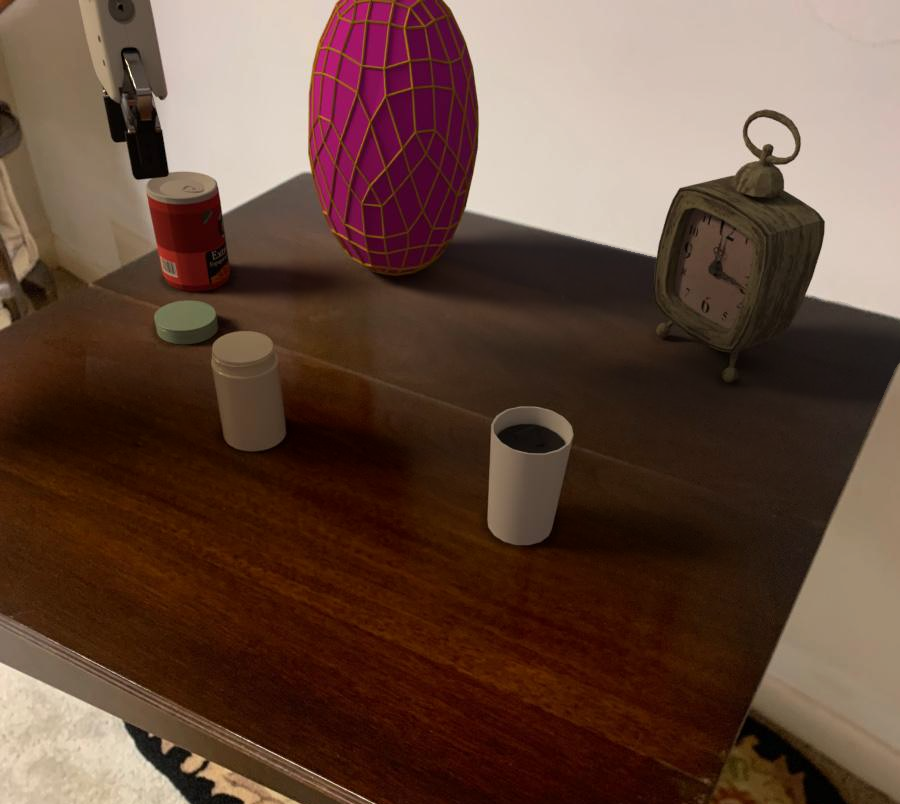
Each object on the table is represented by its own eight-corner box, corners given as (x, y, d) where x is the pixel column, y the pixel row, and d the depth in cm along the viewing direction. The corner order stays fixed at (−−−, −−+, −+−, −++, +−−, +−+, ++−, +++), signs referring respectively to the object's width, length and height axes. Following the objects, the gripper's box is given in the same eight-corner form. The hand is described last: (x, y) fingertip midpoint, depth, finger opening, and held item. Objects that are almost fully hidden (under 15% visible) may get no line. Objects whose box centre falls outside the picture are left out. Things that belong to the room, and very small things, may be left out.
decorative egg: (316, 233, 117) (297, -43, 95) (461, 232, 119) (476, -38, 97) (315, 304, 104) (294, 3, 82) (479, 302, 106) (500, 8, 84)
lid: (225, 316, 101) (223, 302, 100) (210, 346, 96) (207, 332, 95) (167, 312, 101) (164, 298, 100) (149, 342, 96) (145, 327, 95)
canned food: (225, 294, 104) (211, 199, 96) (157, 291, 104) (137, 196, 96) (236, 264, 110) (223, 172, 102) (170, 261, 109) (153, 169, 101)
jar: (216, 448, 84) (200, 361, 77) (232, 412, 88) (218, 326, 81) (279, 454, 84) (268, 366, 77) (291, 417, 88) (283, 331, 81)
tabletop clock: (639, 333, 102) (691, 95, 84) (696, 315, 106) (757, 83, 88) (728, 395, 94) (807, 145, 76) (787, 373, 98) (875, 130, 80)
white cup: (473, 503, 80) (481, 410, 73) (544, 495, 81) (558, 402, 74) (493, 553, 75) (503, 459, 68) (567, 543, 77) (585, 450, 70)
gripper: (171, -40, 68) (202, 188, 81) (125, -83, 79) (158, 124, 91) (70, -38, 66) (118, 197, 78) (36, -83, 76) (82, 131, 89)
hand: (139, 158), depth 85 cm, fingers open, 9 cm apart
